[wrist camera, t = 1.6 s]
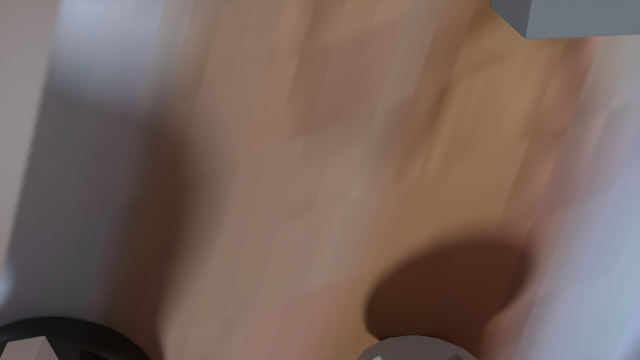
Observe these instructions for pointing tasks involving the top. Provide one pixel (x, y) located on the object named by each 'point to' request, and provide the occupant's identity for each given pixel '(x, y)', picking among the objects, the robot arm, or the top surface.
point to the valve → (415, 349)
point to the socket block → (570, 17)
